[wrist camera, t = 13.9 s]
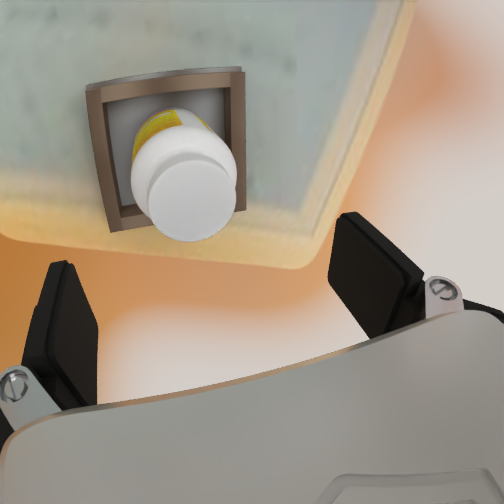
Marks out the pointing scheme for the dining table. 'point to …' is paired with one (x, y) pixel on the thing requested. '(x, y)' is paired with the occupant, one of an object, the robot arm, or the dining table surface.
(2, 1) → the dining table surface
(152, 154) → the supplement bottle
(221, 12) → the dining table surface
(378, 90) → the dining table surface
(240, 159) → the shallow square brown tray
